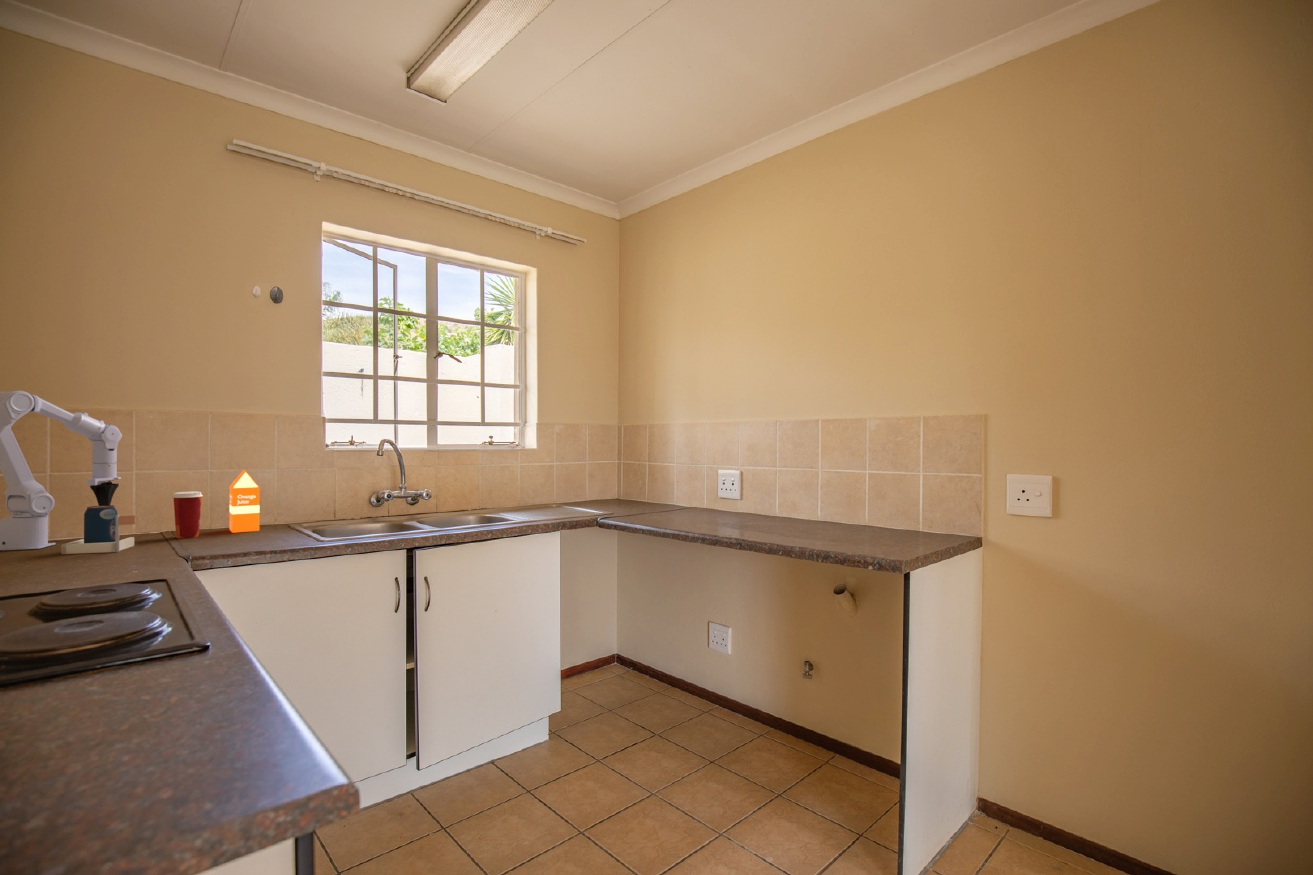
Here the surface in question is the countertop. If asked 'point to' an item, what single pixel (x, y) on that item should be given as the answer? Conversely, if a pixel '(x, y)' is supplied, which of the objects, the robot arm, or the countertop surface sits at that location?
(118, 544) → the shallow cream tray
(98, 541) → the soda can
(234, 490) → the orange juice
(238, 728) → the countertop surface
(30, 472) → the robot arm
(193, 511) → the paper cup
